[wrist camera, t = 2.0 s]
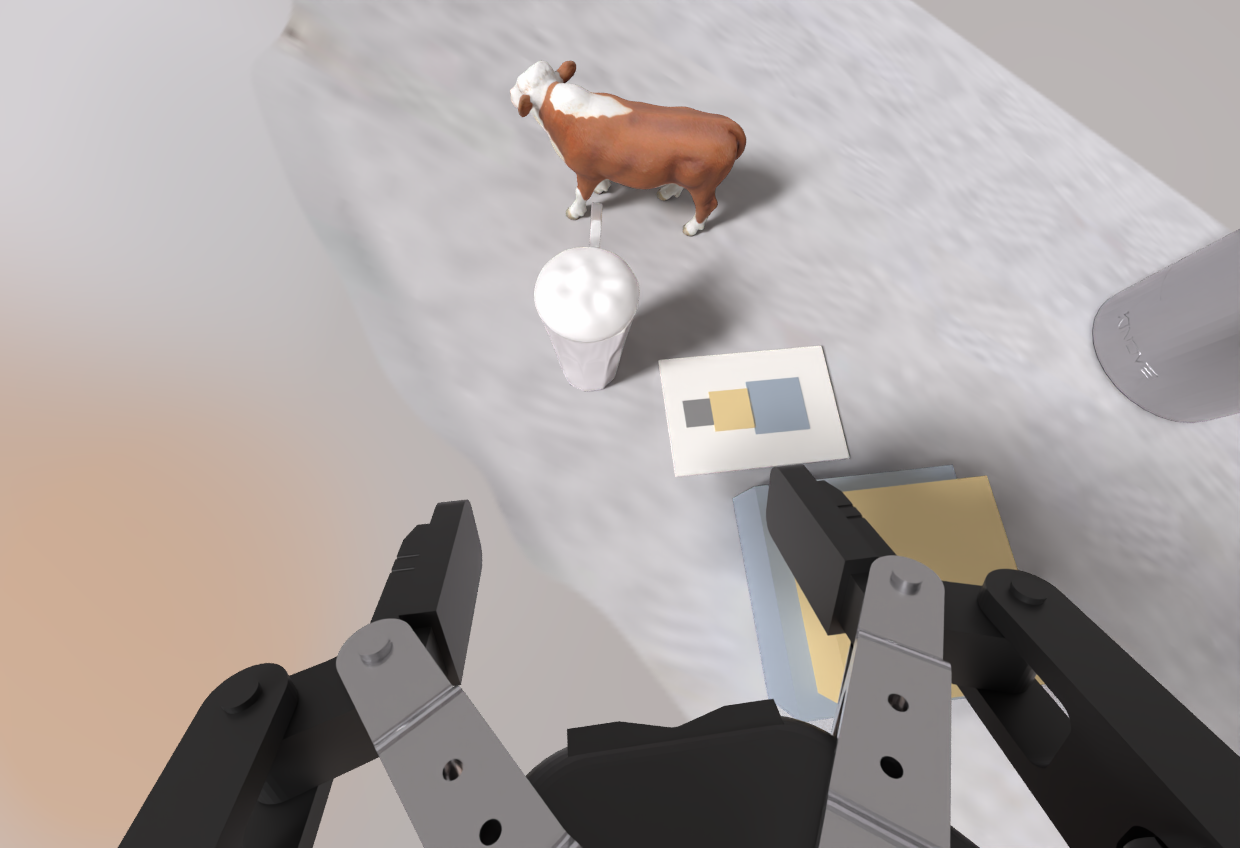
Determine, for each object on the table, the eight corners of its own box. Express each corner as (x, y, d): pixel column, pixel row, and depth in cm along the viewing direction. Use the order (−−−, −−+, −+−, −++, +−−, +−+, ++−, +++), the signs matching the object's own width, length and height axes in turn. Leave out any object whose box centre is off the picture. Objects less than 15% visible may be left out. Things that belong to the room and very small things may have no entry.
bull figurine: (529, 157, 33) (509, 30, 25) (723, 198, 33) (763, 83, 25) (511, 209, 32) (484, 92, 24) (713, 253, 32) (752, 149, 24)
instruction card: (819, 347, 30) (821, 345, 30) (846, 458, 28) (850, 457, 28) (658, 362, 29) (658, 359, 29) (675, 477, 27) (676, 475, 27)
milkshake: (634, 325, 30) (651, 210, 20) (622, 407, 28) (635, 325, 19) (560, 314, 30) (543, 194, 20) (544, 396, 28) (518, 308, 19)
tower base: (903, 479, 28) (1001, 450, 21) (957, 671, 25) (1089, 708, 18) (732, 498, 27) (777, 474, 20) (768, 698, 24) (833, 747, 18)
